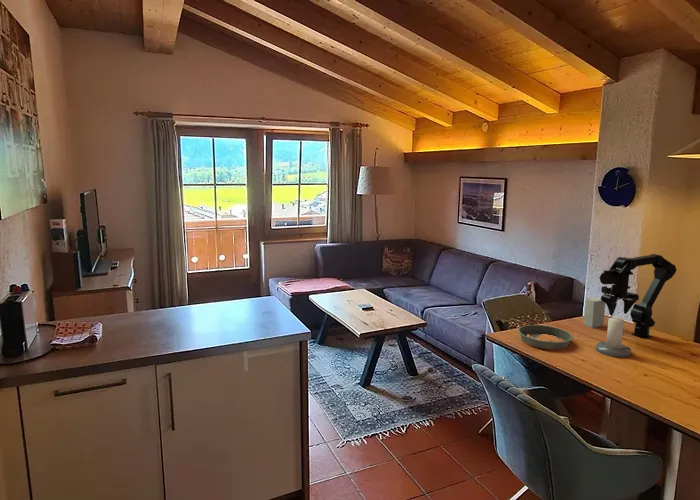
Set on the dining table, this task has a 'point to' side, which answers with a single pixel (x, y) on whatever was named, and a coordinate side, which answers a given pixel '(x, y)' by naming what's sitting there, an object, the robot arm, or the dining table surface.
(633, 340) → the dining table surface
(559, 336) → the cake pan
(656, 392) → the dining table surface
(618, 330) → the white post
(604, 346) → the slate plinth
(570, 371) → the dining table surface
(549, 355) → the dining table surface
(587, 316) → the skincare box
